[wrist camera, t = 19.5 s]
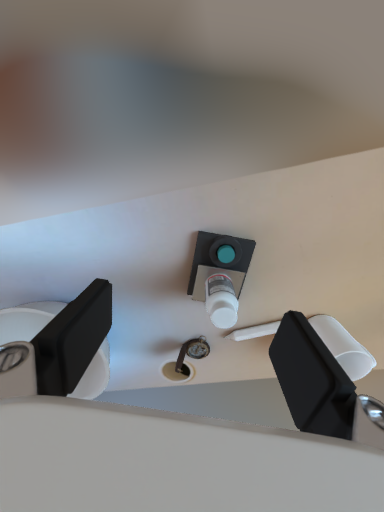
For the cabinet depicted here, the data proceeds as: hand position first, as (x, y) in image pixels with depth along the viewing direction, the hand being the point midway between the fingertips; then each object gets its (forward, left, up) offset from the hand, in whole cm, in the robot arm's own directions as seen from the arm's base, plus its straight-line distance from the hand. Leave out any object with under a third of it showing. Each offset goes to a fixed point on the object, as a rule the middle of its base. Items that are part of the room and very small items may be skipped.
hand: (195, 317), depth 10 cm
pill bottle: (+12, +6, -25) cm, 28 cm away
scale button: (+5, +6, -26) cm, 27 cm away
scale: (+10, +6, -28) cm, 30 cm away
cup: (+21, +34, -28) cm, 49 cm away
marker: (+24, +18, -28) cm, 41 cm away
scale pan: (+12, +6, -25) cm, 29 cm away
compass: (+32, +5, -28) cm, 43 cm away
